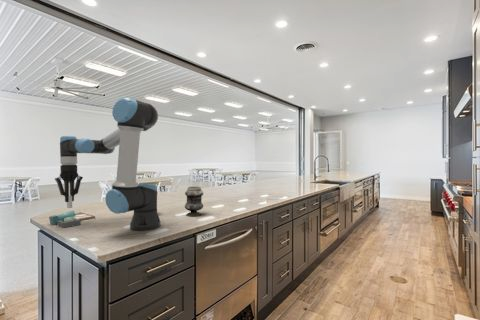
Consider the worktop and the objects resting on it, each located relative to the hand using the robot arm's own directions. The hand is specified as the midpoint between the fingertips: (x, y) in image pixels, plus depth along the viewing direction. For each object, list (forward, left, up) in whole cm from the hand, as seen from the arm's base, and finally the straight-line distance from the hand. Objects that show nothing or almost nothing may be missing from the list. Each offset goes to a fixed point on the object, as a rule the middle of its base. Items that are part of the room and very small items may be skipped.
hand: (69, 207), depth 133 cm
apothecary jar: (-37, -57, -10) cm, 69 cm away
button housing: (+1, 0, -10) cm, 10 cm away
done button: (+1, 0, -9) cm, 9 cm away
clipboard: (+16, -8, -10) cm, 20 cm away
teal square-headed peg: (+10, -6, -6) cm, 13 cm away
